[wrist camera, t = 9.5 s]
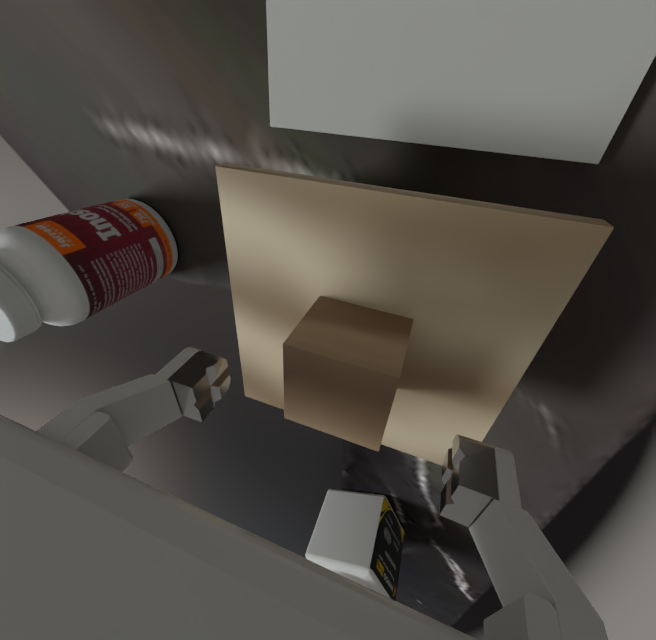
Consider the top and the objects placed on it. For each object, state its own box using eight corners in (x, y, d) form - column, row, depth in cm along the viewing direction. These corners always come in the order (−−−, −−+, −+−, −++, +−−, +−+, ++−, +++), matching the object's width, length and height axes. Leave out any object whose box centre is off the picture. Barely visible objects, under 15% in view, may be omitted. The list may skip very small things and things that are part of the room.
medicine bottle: (405, 531, 35) (385, 684, 26) (349, 522, 38) (314, 653, 29) (386, 493, 32) (355, 650, 23) (327, 486, 36) (280, 620, 26)
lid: (227, 163, 12) (139, 182, 9) (603, 219, 9) (686, 281, 6) (252, 386, 20) (209, 442, 16) (462, 459, 17) (462, 546, 13)
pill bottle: (170, 202, 22) (-21, 261, 13) (188, 280, 25) (48, 367, 17) (103, 191, 23) (-106, 237, 15) (130, 266, 27) (-27, 338, 18)
